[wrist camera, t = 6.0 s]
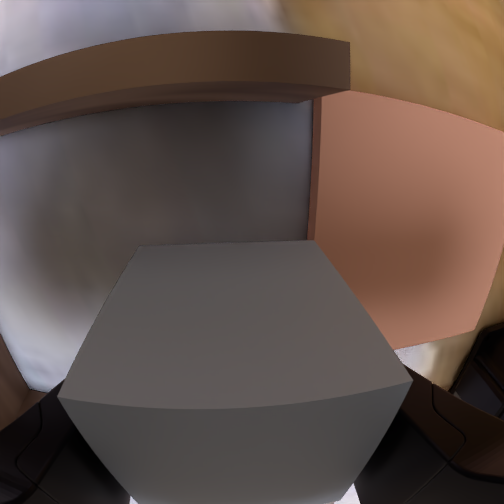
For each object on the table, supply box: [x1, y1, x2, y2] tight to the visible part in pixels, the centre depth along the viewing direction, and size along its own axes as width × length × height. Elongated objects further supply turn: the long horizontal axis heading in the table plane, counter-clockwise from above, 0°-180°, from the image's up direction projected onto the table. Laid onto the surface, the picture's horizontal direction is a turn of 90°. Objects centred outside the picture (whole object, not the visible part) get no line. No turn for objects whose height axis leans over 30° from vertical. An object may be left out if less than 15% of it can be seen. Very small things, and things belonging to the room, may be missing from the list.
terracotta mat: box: [307, 90, 504, 350], centre depth 10 cm, size 10×10×1 cm
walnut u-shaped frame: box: [0, 31, 350, 431], centre depth 8 cm, size 15×15×4 cm
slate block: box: [57, 240, 413, 504], centre depth 6 cm, size 4×4×5 cm
